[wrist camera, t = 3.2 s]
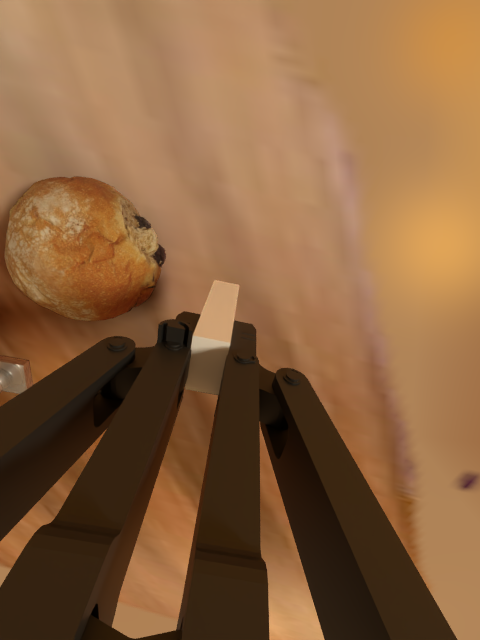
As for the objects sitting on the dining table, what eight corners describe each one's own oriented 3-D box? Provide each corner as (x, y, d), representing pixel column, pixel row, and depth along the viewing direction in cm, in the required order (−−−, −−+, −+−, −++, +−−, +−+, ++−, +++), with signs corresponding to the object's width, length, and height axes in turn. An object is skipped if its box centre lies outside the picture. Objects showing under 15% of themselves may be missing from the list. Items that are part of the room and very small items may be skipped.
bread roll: (84, 166, 23) (-42, 146, 17) (187, 205, 20) (82, 199, 13) (81, 280, 28) (-20, 300, 21) (165, 326, 25) (78, 367, 18)
